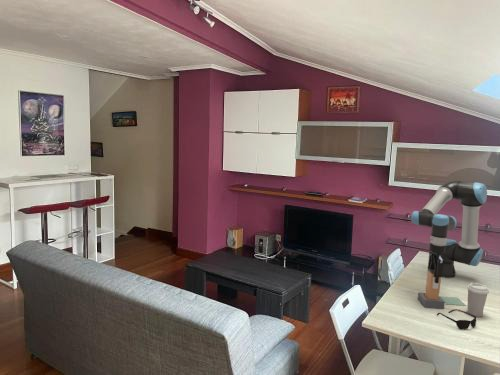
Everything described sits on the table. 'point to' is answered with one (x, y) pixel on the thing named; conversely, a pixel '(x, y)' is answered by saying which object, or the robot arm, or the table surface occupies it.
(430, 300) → the grey square frame
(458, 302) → the pad
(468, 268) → the table surface
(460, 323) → the sunglasses
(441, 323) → the table surface
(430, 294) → the plug
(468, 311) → the coffee cup
